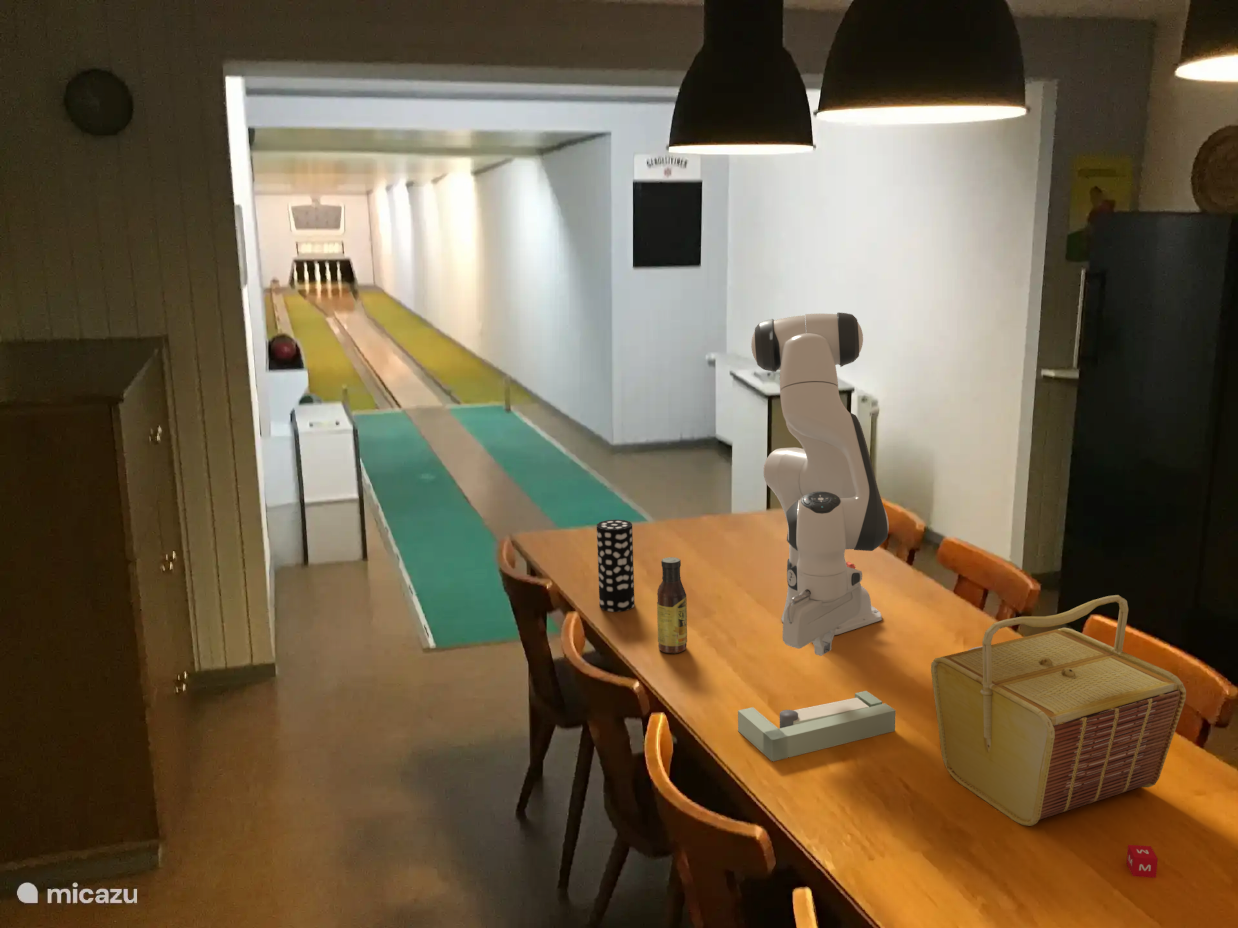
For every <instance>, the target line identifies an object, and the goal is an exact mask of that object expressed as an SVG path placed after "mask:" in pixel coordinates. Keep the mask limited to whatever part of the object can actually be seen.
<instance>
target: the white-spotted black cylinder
mask: <svg viewBox="0 0 1238 928" xmlns="http://www.w3.org/2000/svg"><path fill="white" fill-rule="evenodd" d="M633 540H634V539H633V523H632V522H631V521H629V520H624V519H607V520H602V521H600V522H598V523H596V544H597V547H596V548H597V568H598V569H597V570H598V572H597V573H598V575H597V576H598V597H599V599H598V600H599V608H600V609H601V610H604V611H607V612H613V613H614V612H616V613H618V612H625V611H628V610H631V609H633V608H635V577H634V576H635V574H634V572H635V571H634V542H633Z"/></svg>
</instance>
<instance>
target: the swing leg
mask: <svg viewBox="0 0 1238 928" xmlns="http://www.w3.org/2000/svg"><path fill="white" fill-rule="evenodd" d="M868 707H869V706H868V705H866V704H865V703H864V702H862V701H861V700H860V699H858V698H855V697H853V698H847V699H843V700H839V701H838V700H837V701H832V702H828V703H824V704H819V705H818V704H817V705H813V706H809V707H803V708H799V709H794V710H793V709H785V710H781V711H780V712H779V729H780V728H784V727H788V726H792V725H796V724H801V723H805V722H809V721H813V720H817V719H822V718H826V717H830V716H834V715H838V714H843V713H847V712H851V711H855V710H859V709H864V708H868Z"/></svg>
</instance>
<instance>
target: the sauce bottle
mask: <svg viewBox="0 0 1238 928" xmlns="http://www.w3.org/2000/svg"><path fill="white" fill-rule="evenodd" d="M660 563H661V567H662V578H661V579H662V581H661V583H660V584H659V586H658V588H657V594H656V595H657V601H656V611H657V613H656V615H657V616H656V617H657V642H658V645H657V646H658V649H659V650H660V651H661V652H662V653H665V654H678V653H682V652H684V651H685V650H686V649H687V646H688V645H687V643H688V618H687V617H688V610H687V607H688V605H687V598H688V597H687V593H686V591H685V588H684V585H683V583H682V579H681V566H682V565H681V564H682V563H681V559H680V558H678V557H675V556H674V557H672V556H671V557H670V556H669V557H664V558H662V559H661V561H660Z"/></svg>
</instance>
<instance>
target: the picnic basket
mask: <svg viewBox="0 0 1238 928" xmlns="http://www.w3.org/2000/svg"><path fill="white" fill-rule="evenodd" d="M1110 603H1117V604H1118V606H1119V611H1118V616H1117V617H1118V619H1117V625H1116V630H1115V639H1114V645H1113V646H1112V645H1110V644H1107V643H1105V642H1102V641H1100V640H1099V639H1098V640H1097V639H1095V638H1094V637H1091V636H1089V635H1086V634H1084V633H1082V632H1079V631H1076V630H1075V629H1073V628H1068V627H1062V628H1056V629H1052V630H1049V631H1044V632H1040V633H1037V634H1032V635H1027V636H1023V637H1019V638H1016V639H1011V640H1008V641H1003V642H998V643H995V644H992V640H993V637H994V635H995V634H996V633H997V632H998V631H999V630H1000V629H1004V628H1006V627H1012V626H1017V625H1025V626H1028V627H1032V628H1051V627H1056V626H1061V625H1065V624H1068V623H1071V622H1074V621H1076V620H1079V619H1080V618H1083V617H1084V616H1087V615H1088V614H1090V613H1091V612H1092V611H1093V610H1094V609H1096V608H1097V607H1099V606H1100V607H1101V606H1104V605H1106V604H1107V605H1108V604H1110ZM1128 614H1129V606H1128V601H1127V599H1125V598H1124V597H1122V596H1120V595H1119V594H1115V595H1108V596H1107V595H1106V596H1103V597H1100V598H1099V597H1098V598H1097V599H1092V600H1090V601H1087V602H1085V603H1083V604H1080V605H1078V606H1076V607H1074V608H1071V609H1070V610H1067V611H1064V612H1061V613H1057V614H1052V615H1046V616H1019V617H1018V616H1017V617H1012V618H1007V619H1002V620H1000V621H997V622H993V624H991V625H989V627H988V628H987V629H986V630H985V631H984V633H983V638H982V642H981V643H982V645H981V646H980V647H981V648H977V649H972V650H969V649H968V650H965V651H962V652H957V653H952V654H949V655H943V656H939V657H935V658H934V659H933V660H932V662H931V665H930V673H931V679H932V680H931V681H932V689H933V697H934V704H935V705H934V706H935V712H936V720H937V727H938V728H937V729H938V734H939V735H938V736H939V744H940V751H941V756H942V757H941V758H942V760H943V761H942V762H943V764H944V766H945V768H946V770H947V772H948V773H949V775H951V776H952V778H953V779H954V780H955V781H956V782H957V783H959V784H960V785H961V786H962V787H965V789H967V790H968V791H970V792H972V793H973V794H974V795H976V796H978V797H979V798H980V799H982V800H983V801H984V802H986V803H988V804H989V805H991V806H992V807H994V808H995V809H996V810H998V812H1000V813H1002V814H1004V815H1005V816H1006V817H1007V818H1009V819H1011V820H1012V821H1014V822H1016V823H1018V824H1019V825H1021V826H1029V827H1033V826H1034V825H1037V823H1038V822H1039V821H1040V820H1043V819H1046V818H1049V817H1052V816H1055V815H1058V814H1061V813H1065V812H1068V811H1071V810H1074V809H1077V808H1079V807H1080V808H1081V807H1083V806H1086V805H1088V804H1092V803H1096V802H1097V801H1102V800H1104V799H1107V798H1110V797H1111V798H1112V797H1113V796H1117V795H1119V794H1123V793H1126V792H1129V791H1132V790H1134V789H1135V790H1136V789H1138V788H1150V787H1153V786H1154V785H1156V783H1157V782H1158V781H1159V779H1160V777H1161V773H1162V770H1163V768H1164V765H1165V762H1166V760H1167V757H1168V756H1167V755H1168V753H1169V750H1170V747H1171V745H1172V741H1173V737H1174V735H1175V732H1176V729H1177V725H1178V723H1179V721H1180V717H1181V714H1182V711H1183V708H1184V706H1185V702H1186V697H1187V690H1186V688H1185V686H1184V685H1185V684H1184V683H1183V681H1181V680H1180V678H1179V676H1177V675H1175V674H1173V673H1172V672H1171V671H1168V670H1166V669H1164V668H1162V667H1159V666H1158V665H1155V664H1153V663H1151V662H1148V661H1146V660H1143V659H1141V658H1138V657H1137V656H1134V655H1132V654H1129V653H1128V652H1125V651H1123V649H1124V642H1125V641H1124V640H1125V636H1126V629H1127V621H1128Z"/></svg>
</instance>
